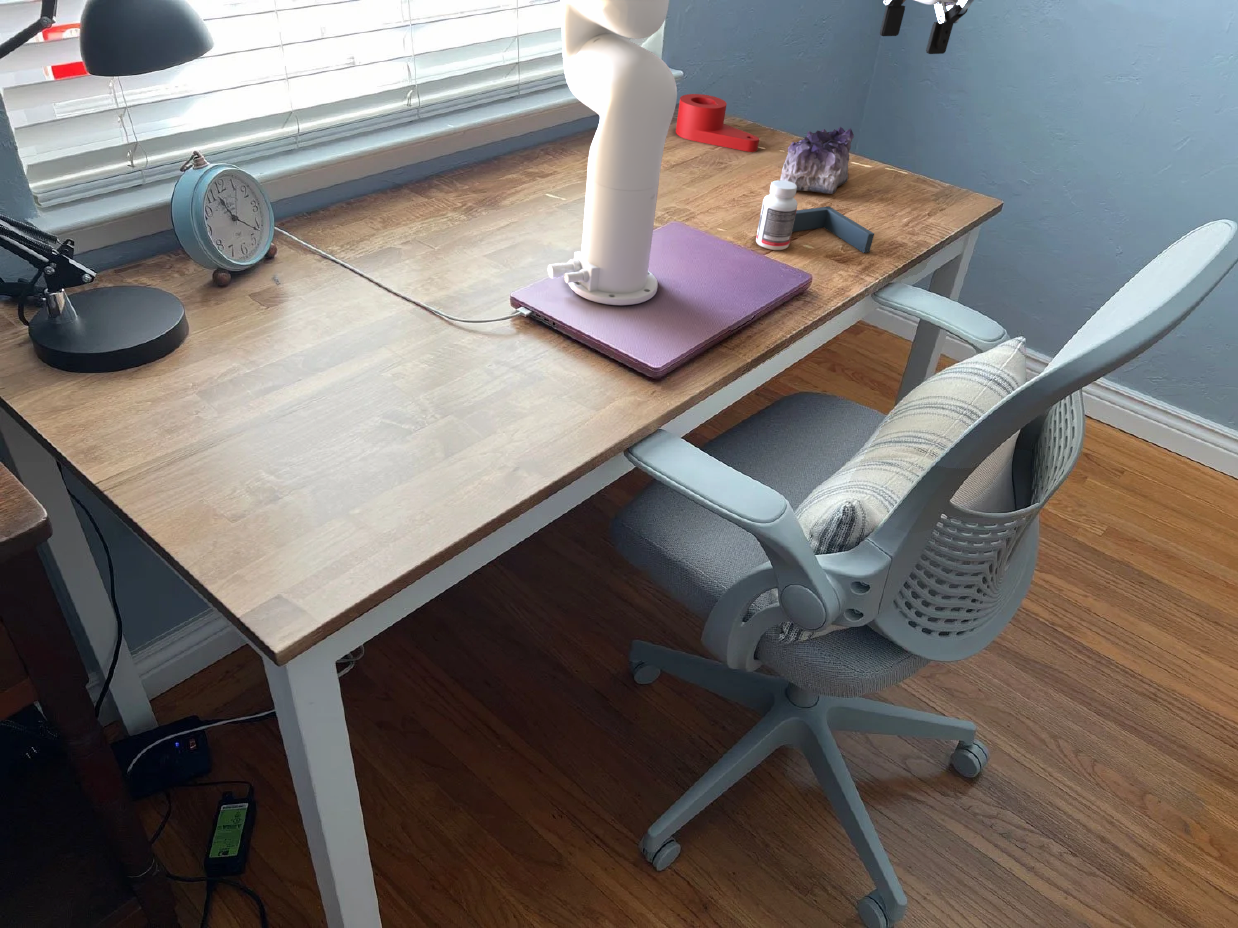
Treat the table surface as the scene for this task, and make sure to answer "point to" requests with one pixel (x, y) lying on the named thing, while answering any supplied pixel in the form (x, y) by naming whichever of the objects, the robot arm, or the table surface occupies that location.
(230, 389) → the table surface
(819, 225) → the corner
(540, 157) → the table surface
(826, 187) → the geode
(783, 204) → the pill bottle
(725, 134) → the lever
